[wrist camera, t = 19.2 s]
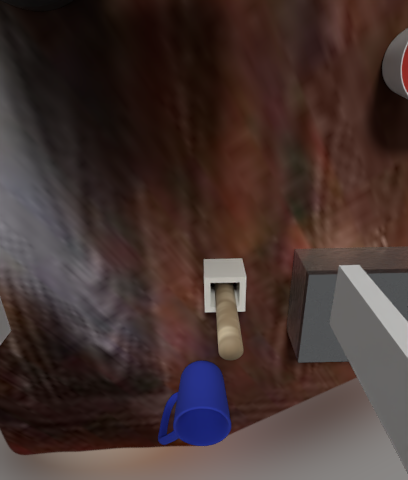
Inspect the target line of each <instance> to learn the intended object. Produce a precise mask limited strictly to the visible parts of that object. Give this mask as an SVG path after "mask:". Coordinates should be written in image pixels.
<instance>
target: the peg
mask: <svg viewBox="0 0 408 480" xmlns="http://www.w3.org/2000/svg"><path fill="white" fill-rule="evenodd" d="M214 285H215V301H216V317H217V333H218V349H219V355H220V356H221V357H222V358H223V359H226V360H235V359H238V358H239V357H241V355H242V354H243V344H242V338H241V331H240V325H239V318H238V312H237V305H236V299H235V292H234V286H233V283H214Z"/></svg>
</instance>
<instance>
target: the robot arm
mask: <svg viewBox="0 0 408 480" xmlns="http://www.w3.org/2000/svg"><path fill="white" fill-rule="evenodd" d="M1 1H3V2H5V3H8V4H10V5H13V6H15V7H18V8H21V9H25V10H31V11H49V10H54V9H57V8H60V7H63V6H65V5H67V4H69V3H70V2H72V1H73V0H1ZM329 324H330V326H331V328H332V330H333V332H334V334H335V336H336V338H337V340H338V341H339V343H340V345H341V347H342V349H343V351H344V353H345V355H346V357H347V359H348V361H349V362H350V364H351V366H352V368H353V370H354V372H355V374H356V376H357V378H358V380H359V382H360V383H361V385H362V387H363V389H364V391H365V393H366V395H367V397H368V399H369V401H370V403H371V404H372V406H373V408H374V410H375V412H376V414H377V416H378V418H379V420H380V422H381V423H382V425H383V427H384V429H385V431H386V433H387V435H388V437H389V439H390V441H391V443H392V445H393V446H394V448H395V450H396V452H397V454H398V456H399V458H400V460H401V461H402V463H403V465H404V467H405V469H406V471H407V473H408V322H407V320H406V319H405V318H404V317H403V316H402V315H401V313H400V312H399V311H398V310H397V309H396V307H395V306H394V305H393V304H392V303H391V302H390V300H389V299H388V298H387V297H386V296H385V295H384V293H383V292H382V291H381V290H380V289H379V288H378V286H377V285H376V284H375V283H374V282H373V280H372V279H371V278H370V277H369V276H368V275H367V273H366V272H365V271H364V270H363V269H362V268H361V266H360V265H339V268H338V274H337V280H336V287H335V293H334V299H333V305H332V311H331V317H330V323H329ZM10 331H11V329H10V326H9V323H8V320H7V317H6V314H5V310H4V307H3V304H2V301H1V298H0V345H1V343H2V342H3V341H4V339H5V338H6V337H7V335H8V334H9V333H10Z"/></svg>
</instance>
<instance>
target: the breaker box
mask: <svg viewBox="0 0 408 480" xmlns="http://www.w3.org/2000/svg"><path fill="white" fill-rule="evenodd" d="M339 265H360V266H361V268H362V269H363V270H364V271H365V272H366V273H367V275H368V276H369V277H370V278H371V279H372V280H373V282H374V283H375V284H376V285H377V286H378V288H379V289H380V290H381V291H382V292H383V293H384V295H385V296H386V297H387V298H388V299H389V300H390V302H391V303H392V304H393V305H394V306H395V307H396V309H397V310H398V311H399V312H400V313H401V315H402V316H403V317H404V318H405V319H406V320H407V322H408V247H367V248H321V249H295V252H294V261H293V271H292V281H291V291H290V301H289V311H288V321H287V332H288V335H289V338H290V340H291V343H292V346H293V349H294V352H295V355H296V358H297V361H298V362H344V361H348V359H347V357H346V355H345V353H344V351H343V349H342V347H341V345H340V343H339V341H338V340H337V338H336V336H335V334H334V332H333V330H332V328H331V326H330V324H329V323H330V317H331V311H332V305H333V299H334V293H335V287H336V280H337V274H338V268H339Z"/></svg>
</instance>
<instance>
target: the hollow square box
mask: <svg viewBox="0 0 408 480" xmlns="http://www.w3.org/2000/svg"><path fill="white" fill-rule="evenodd" d="M234 282H236V286H234V292H235V299H236V305H237V312H244V311H245V299H246V273H245V269H244V265H243V260H242V258H240V259H204V297H205V312H216V301H215V287H210V283H234Z"/></svg>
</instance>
